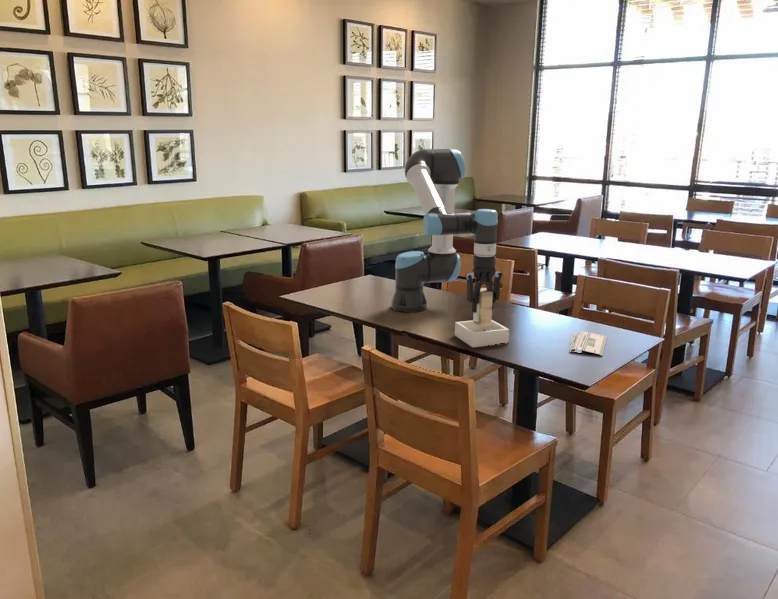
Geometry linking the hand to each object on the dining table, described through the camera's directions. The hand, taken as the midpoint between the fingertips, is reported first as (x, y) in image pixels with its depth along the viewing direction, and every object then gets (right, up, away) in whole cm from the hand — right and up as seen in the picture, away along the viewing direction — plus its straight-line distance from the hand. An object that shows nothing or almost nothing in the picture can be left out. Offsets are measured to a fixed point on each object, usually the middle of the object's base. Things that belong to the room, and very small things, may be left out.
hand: (482, 320), depth 220 cm
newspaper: (+35, -9, -4) cm, 37 cm away
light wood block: (0, -1, 0) cm, 1 cm away
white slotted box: (0, -7, +2) cm, 7 cm away
